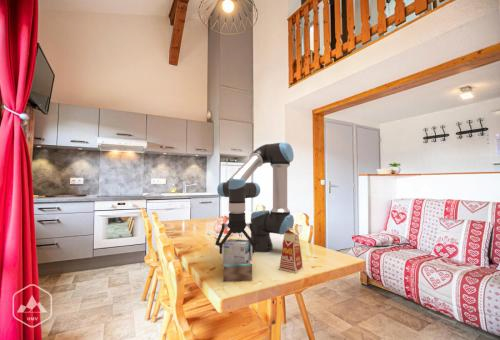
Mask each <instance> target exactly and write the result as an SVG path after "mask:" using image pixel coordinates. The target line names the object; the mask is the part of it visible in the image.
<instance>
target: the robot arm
mask: <svg viewBox="0 0 500 340" xmlns="http://www.w3.org/2000/svg"><path fill="white" fill-rule="evenodd" d="M294 158H295V157H294V151H293V147H292V145H291V144H290V143H288V142H275V143H266V144H262V145H261V146H259V147H257V148H256V149H255V150H254V151H252V152H251V153H250V154H249V156H248V159H247V160H246V161H245V162H244V163H242V165H241V166H240V167H239V168H238V170H236V171H235V172H234V173H233V174H232V176H231V177H230V178H229V179H228V180H227V181H226V182H225V181H224V182H220V183H219V184H218V185H217V188H216V189H217V190H216V191H217V194H218V195H219V196H220V197H223V198H228V212H229V213H228V223H224V222H223V223H222V224H221V229H220V231H219V234H218V235H217V239H216V241H215V243H214V245H215V246H217V247H219V253H218V254H220V255H221V263H224V243H225V241H226V240H228V239H229V237H230V236H231V235H232V234H241V233H242V234H243V235H244V237H245V238H246V240H249V242H250V262H252V261H253V254H255V252H257V253H258V252H259V253H264V252H270V251H272V250H273V249H274V248H273V247H274V245H273V242H272V239H271V234H277V235H284V233H285V232H286V231H287V230H288V227H289V228H293V229H294V223H295V219H294V216H293V215H292V214H291V210H290V209H289V208H288V168H289V167H290V166H291V165H290V164H291V163H292V162H293V160H294ZM264 164H270V165H269V166H270V167H271V168H272V208H271V209H270V210H267V209H266V210H258V211H253V212H251V214H250V222H246V199H254V198H257V197H258V196H260V193H261V188H260V185H259V183H257V182H246V181H247V180H248V179H250V177H251V176H252V175H253V174H254V172H255V171H256V170H257V169H258V168H260V167H262V166H263V165H264ZM227 227H228V232H227V233H226V235H224V237H223V239H222V240H221V238H222V236H223V233H224V232H225V230H226V229H227ZM246 227H247V228H248V229H249V230H250V235H249V234H248V233H247V231H246V230H245V229H246ZM270 233H271V234H270Z"/></svg>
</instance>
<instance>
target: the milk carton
mask: <svg viewBox="0 0 500 340" xmlns="http://www.w3.org/2000/svg"><path fill="white" fill-rule="evenodd" d="M303 265H304V264H303V257H302V249H301V243H300V235H299V234H298V233H297V232H296V231H295V230H294V227H293V228H289V227H288V230H287V231H286V232H285V233H284V234H283V240H282V248H281V254H280V262H279V267H278V270H281V271H284V272H289V273H294V274H298V273H299V272H300V271H301V270H302V269H304V266H303Z"/></svg>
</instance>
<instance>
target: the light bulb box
mask: <svg viewBox="0 0 500 340" xmlns="http://www.w3.org/2000/svg"><path fill="white" fill-rule="evenodd" d="M223 245H224V262H223V266H224V265H235V264H251V260H250V242H249V240H248V239H239V238H237V239H235V238H228V239H227V240H226V241H225V243H224V244H223Z"/></svg>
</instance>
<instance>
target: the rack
mask: <svg viewBox="0 0 500 340" xmlns="http://www.w3.org/2000/svg"><path fill="white" fill-rule="evenodd" d="M245 281H246V282H247V281H249V282H250V281H253V264H252V263H250V264H235V265H224V264H223V282H224V283H225V282H228V283H229V282H245Z"/></svg>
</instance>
